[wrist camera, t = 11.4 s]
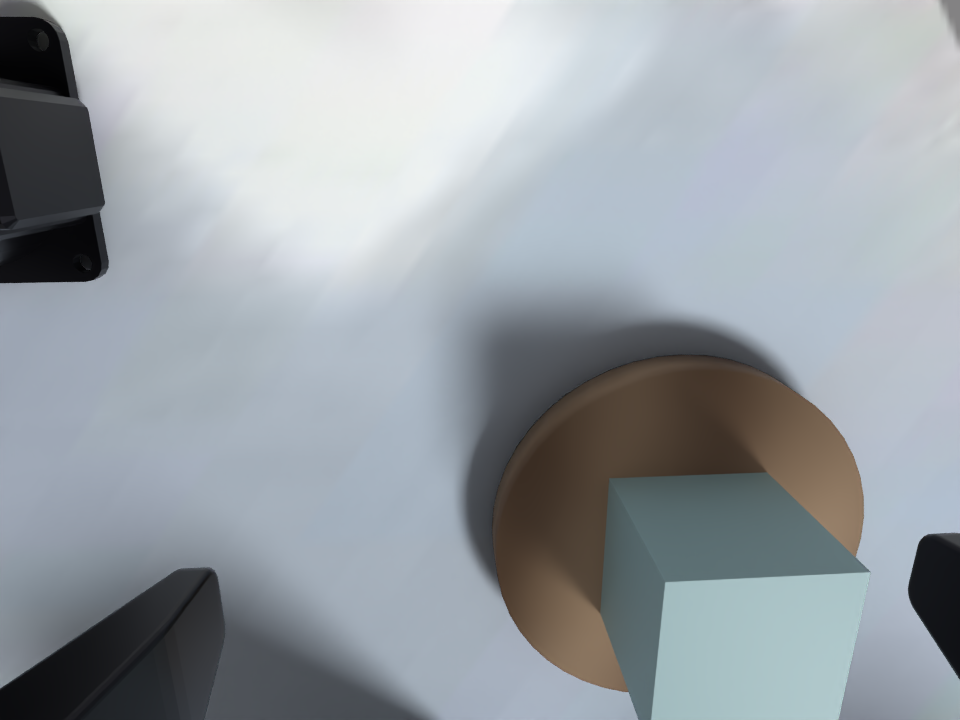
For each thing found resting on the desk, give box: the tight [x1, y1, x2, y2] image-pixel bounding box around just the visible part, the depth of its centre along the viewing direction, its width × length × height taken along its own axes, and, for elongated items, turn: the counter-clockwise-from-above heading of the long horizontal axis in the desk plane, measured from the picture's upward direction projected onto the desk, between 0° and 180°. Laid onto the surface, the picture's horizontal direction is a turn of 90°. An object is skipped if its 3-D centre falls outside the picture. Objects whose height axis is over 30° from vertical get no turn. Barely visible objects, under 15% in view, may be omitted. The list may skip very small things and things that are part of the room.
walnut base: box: [492, 355, 864, 692], centre depth 21 cm, size 12×12×2 cm
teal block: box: [600, 472, 871, 720], centre depth 18 cm, size 5×5×5 cm
